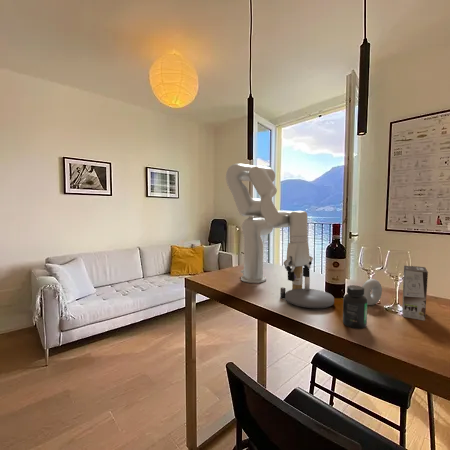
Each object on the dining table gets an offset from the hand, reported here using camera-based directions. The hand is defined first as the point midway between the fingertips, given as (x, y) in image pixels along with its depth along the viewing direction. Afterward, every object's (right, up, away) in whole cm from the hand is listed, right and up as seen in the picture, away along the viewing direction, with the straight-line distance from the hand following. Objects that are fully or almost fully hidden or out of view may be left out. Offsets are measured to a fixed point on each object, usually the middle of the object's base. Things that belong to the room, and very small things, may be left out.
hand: (298, 278), depth 120 cm
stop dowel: (-9, -6, -7) cm, 13 cm away
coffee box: (+33, -8, -25) cm, 42 cm away
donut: (+23, -7, -16) cm, 29 cm away
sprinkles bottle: (0, -6, +1) cm, 6 cm away
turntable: (+1, -5, -12) cm, 13 cm away
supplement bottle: (+9, -8, -32) cm, 35 cm away
